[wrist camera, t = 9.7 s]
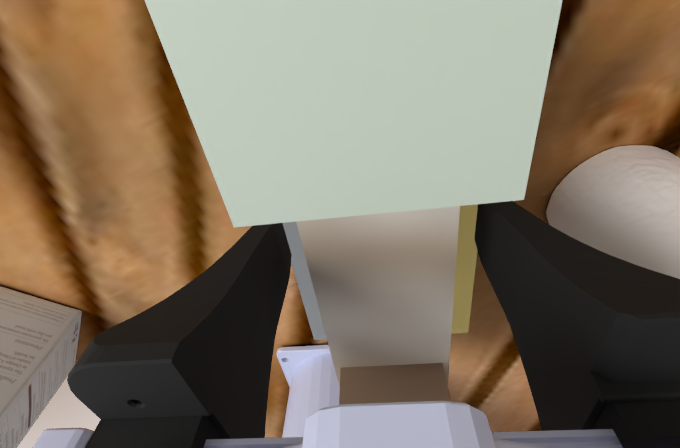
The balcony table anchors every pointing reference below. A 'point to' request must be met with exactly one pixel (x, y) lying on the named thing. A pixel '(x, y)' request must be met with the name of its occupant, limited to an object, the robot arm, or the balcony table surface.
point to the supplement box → (32, 358)
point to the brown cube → (393, 384)
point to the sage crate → (361, 100)
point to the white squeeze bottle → (624, 206)
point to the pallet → (385, 285)
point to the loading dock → (462, 274)
